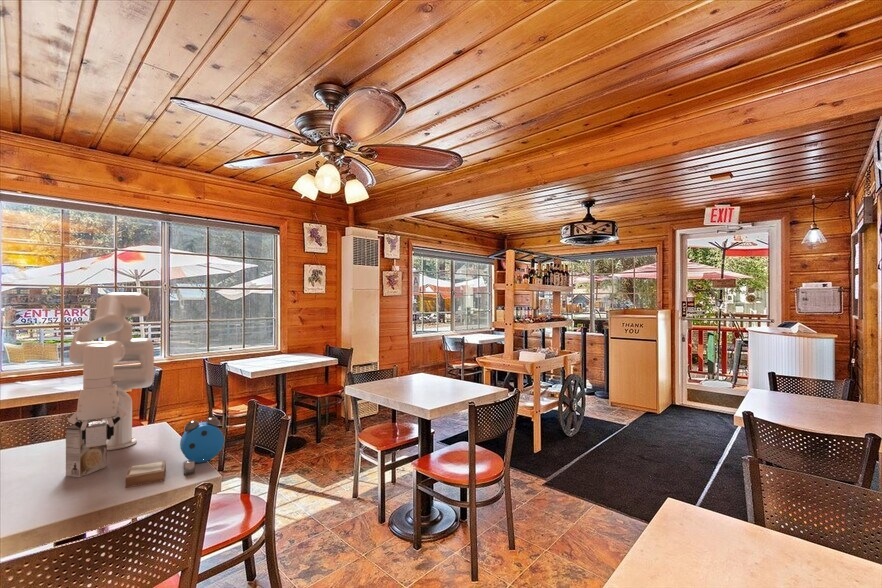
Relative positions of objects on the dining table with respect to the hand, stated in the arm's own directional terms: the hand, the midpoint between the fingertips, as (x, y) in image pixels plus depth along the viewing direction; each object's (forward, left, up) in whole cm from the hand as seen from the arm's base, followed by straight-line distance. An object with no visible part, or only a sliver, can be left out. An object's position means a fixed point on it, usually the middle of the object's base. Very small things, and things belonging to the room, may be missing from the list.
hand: (98, 439), depth 134 cm
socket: (+7, +25, -14) cm, 29 cm away
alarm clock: (-4, +29, -14) cm, 32 cm away
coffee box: (-13, -5, -14) cm, 20 cm away
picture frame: (+4, +13, -14) cm, 19 cm away
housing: (0, 0, -1) cm, 1 cm away
